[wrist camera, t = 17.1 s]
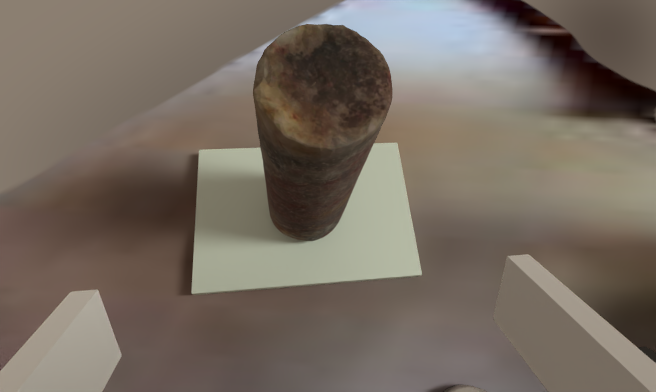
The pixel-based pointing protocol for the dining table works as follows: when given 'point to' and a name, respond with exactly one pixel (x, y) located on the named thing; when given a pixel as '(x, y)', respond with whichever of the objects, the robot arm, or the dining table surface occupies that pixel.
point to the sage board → (290, 254)
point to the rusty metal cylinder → (317, 122)
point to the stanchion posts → (464, 389)
